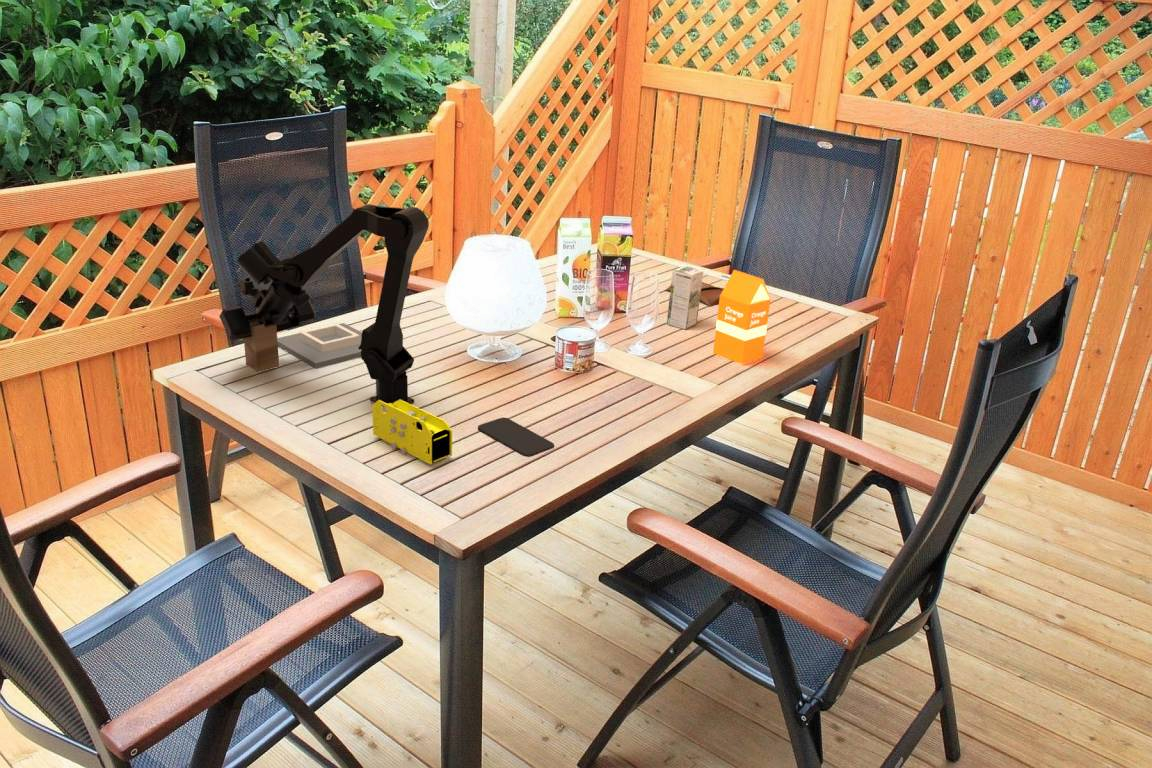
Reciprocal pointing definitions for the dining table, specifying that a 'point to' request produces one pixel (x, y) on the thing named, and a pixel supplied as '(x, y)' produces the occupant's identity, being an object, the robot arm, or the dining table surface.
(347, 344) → the socket plate
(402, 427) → the yellow toy chassis
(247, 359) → the walnut block
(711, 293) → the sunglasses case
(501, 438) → the phone
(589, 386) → the dining table surface
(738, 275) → the orange juice
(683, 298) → the syrup box
